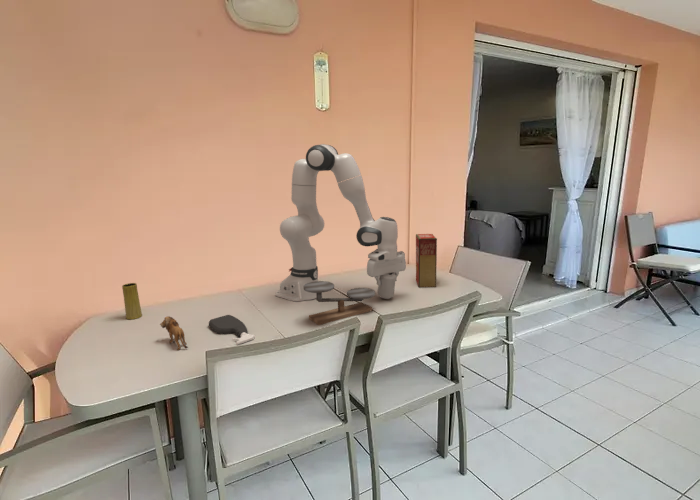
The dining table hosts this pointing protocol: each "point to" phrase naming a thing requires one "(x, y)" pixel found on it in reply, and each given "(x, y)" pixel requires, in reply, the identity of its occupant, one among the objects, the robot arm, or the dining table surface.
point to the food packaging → (426, 260)
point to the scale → (342, 310)
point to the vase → (131, 301)
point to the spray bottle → (231, 328)
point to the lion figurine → (174, 331)
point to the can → (387, 285)
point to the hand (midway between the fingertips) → (386, 282)
